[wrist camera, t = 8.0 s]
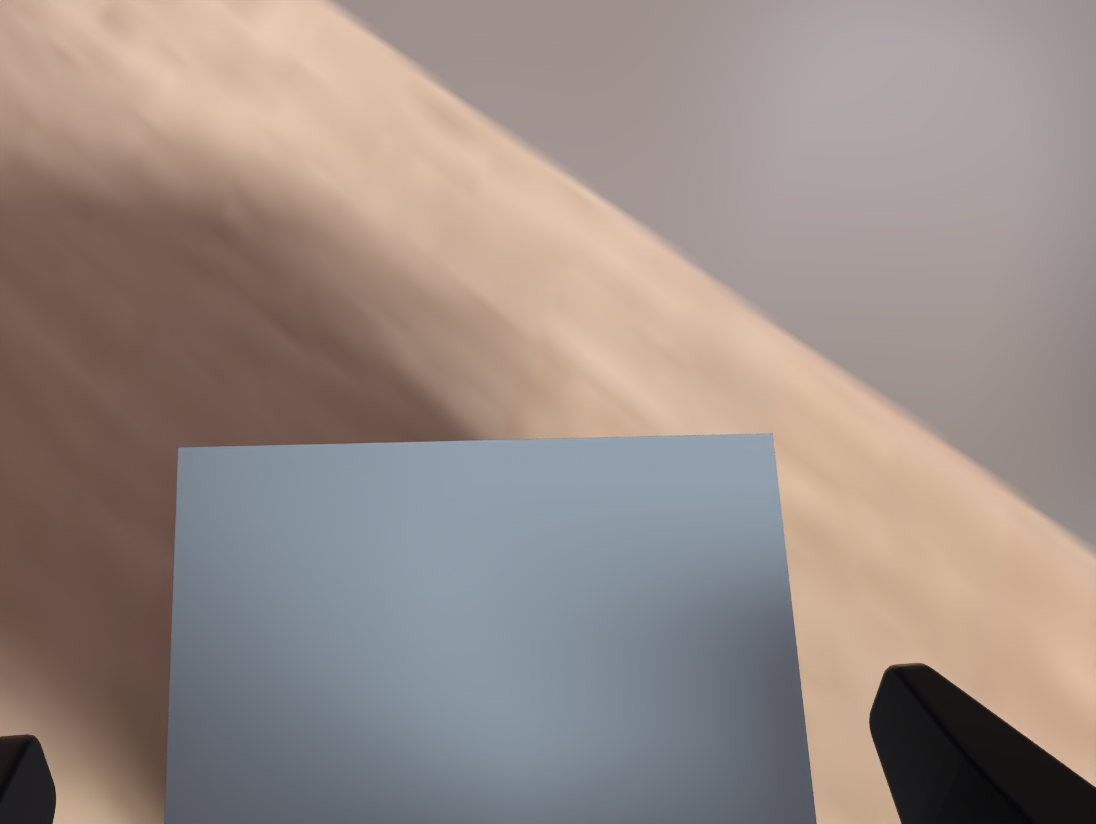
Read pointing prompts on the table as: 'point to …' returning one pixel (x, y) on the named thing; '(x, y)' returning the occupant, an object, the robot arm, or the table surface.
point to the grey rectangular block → (485, 635)
